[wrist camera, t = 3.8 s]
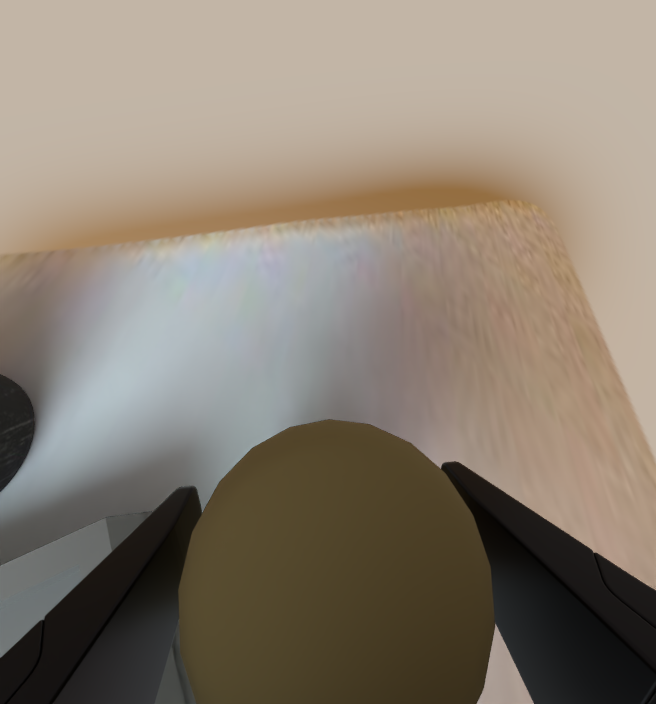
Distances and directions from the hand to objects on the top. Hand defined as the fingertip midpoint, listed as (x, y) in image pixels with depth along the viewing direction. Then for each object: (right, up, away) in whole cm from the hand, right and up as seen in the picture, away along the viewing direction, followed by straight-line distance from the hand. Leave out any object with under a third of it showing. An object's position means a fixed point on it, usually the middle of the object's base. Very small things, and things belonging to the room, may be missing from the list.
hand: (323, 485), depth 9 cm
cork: (0, -4, +6) cm, 7 cm away
